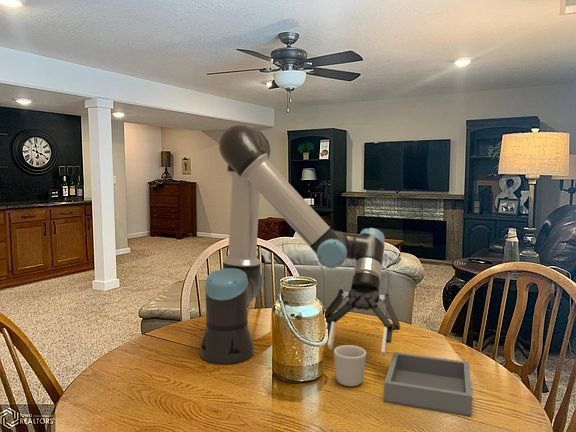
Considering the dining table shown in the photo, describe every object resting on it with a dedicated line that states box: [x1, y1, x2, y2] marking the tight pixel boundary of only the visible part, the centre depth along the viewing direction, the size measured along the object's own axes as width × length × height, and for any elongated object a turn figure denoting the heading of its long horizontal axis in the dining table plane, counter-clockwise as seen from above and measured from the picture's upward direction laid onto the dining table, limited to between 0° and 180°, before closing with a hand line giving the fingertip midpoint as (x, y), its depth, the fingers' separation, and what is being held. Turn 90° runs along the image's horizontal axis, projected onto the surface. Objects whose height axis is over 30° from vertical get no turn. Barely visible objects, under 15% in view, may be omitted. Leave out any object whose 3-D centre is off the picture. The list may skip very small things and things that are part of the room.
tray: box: [383, 351, 473, 417], centre depth 109 cm, size 18×18×4 cm
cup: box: [333, 344, 367, 387], centre depth 114 cm, size 11×8×8 cm
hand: (356, 350), depth 115 cm, fingers open, 13 cm apart
